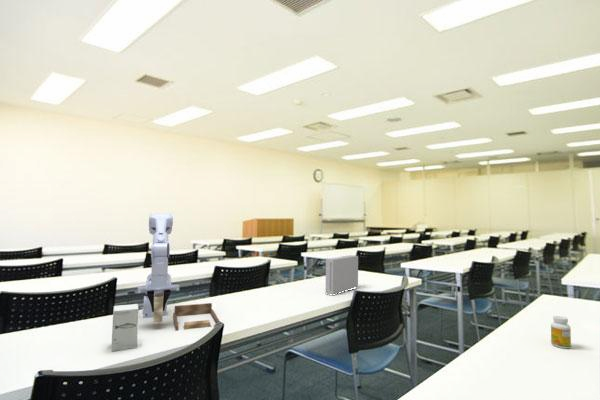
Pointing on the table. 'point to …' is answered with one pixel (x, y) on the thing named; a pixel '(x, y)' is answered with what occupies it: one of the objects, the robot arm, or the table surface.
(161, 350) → the table surface
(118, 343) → the supplement box
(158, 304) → the light wood block
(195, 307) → the walnut rack
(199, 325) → the upper oak offcut
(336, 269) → the game console
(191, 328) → the lower oak offcut
